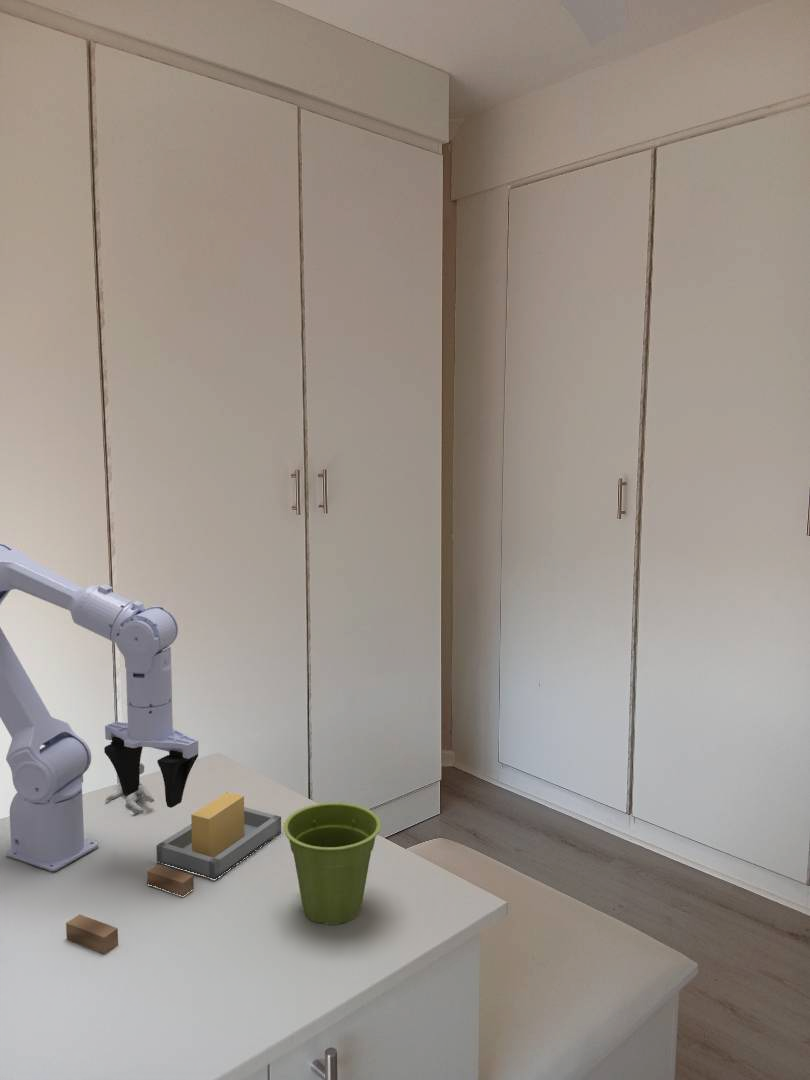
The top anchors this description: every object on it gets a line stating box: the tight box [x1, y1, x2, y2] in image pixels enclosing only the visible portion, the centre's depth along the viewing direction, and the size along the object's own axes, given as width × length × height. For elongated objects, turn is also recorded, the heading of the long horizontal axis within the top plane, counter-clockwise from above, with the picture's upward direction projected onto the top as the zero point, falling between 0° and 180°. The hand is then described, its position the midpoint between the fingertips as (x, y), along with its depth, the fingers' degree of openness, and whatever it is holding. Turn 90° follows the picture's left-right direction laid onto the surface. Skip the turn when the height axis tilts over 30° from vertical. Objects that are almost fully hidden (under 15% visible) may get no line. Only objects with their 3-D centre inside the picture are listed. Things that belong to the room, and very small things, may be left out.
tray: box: [155, 806, 282, 879], centre depth 120 cm, size 10×15×2 cm, turn 153°
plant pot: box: [282, 802, 382, 925], centre depth 104 cm, size 12×12×11 cm
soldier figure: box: [104, 762, 155, 814], centre depth 135 cm, size 8×5×12 cm
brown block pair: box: [65, 863, 195, 955], centre depth 103 cm, size 6×15×2 cm, turn 153°
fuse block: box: [190, 791, 245, 858], centre depth 119 cm, size 3×8×6 cm, turn 156°
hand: (152, 798), depth 114 cm, fingers open, 7 cm apart
